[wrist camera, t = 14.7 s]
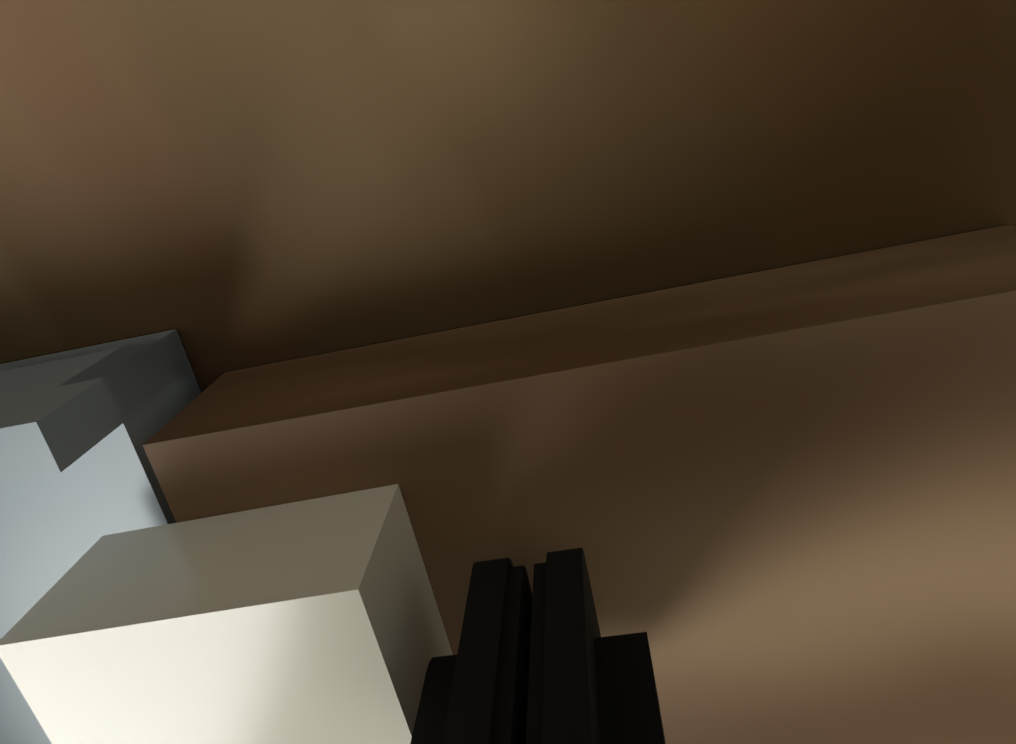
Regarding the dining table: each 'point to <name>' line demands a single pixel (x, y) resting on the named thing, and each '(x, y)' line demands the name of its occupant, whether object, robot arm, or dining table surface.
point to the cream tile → (238, 630)
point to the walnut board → (698, 480)
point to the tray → (77, 470)
